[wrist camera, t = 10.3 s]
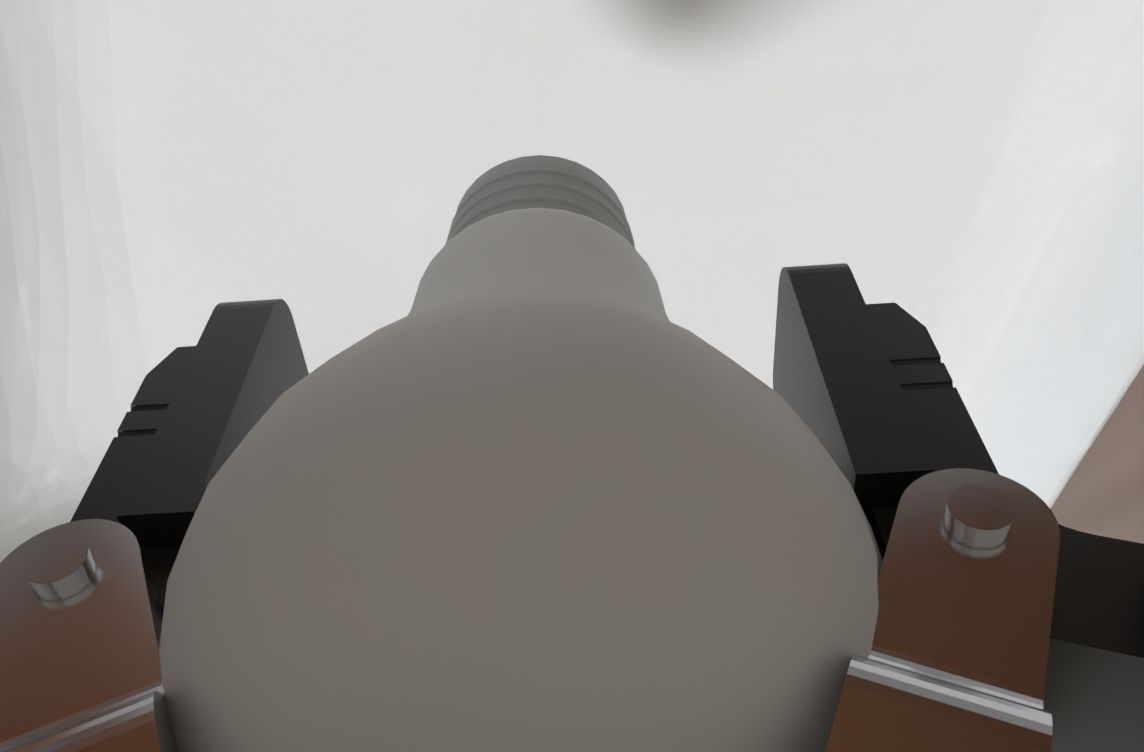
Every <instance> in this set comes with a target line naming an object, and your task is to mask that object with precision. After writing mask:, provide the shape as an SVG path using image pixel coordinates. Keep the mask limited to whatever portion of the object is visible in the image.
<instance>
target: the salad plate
mask: <svg viewBox="0 0 1144 752" xmlns="http://www.w3.org/2000/svg"><path fill="white" fill-rule="evenodd" d="M536 155H545V156H555V157H561V158H564V159H568V160H571V161H575V162H577V163H579V164H581V165H583V166H585V167H587V168H589V169H591V170H592V171H594V172H595V173H596V174H598V175H599V176H600V177H601V178H603V179H604V180H605V181H606V182H607V183H608V184H609V186H610V187H611V188H612V189H613V190H614V191H615V193H616V194H617V196H618V198H619V200H620V202H621V204H622V205H623V208H624V211H625V215H626V218H627V222H628V224H629V226H630V229H631V232H632V236H633V240H634V246H635V249H636V251H637V252H638V253H639V254H640V255H641V256H642V258H643V259H644V260H645V261H646V262H647V264H648V266H649V268H650V269H651V271H652V273H653V275H654V277H655V279H656V280H657V283H658V286H659V290H660V294H661V297H662V301H663V304H664V308H665V312H666V315H667V317H668V319H669V321H670V322H672V323H674V324H676V325H678V326H680V327H683V328H685V329H687V330H689V331H691V332H692V333H694V334H695V335H697V336H698V337H700V338H701V339H702V340H704V341H705V342H707V343H708V344H710V345H711V346H713V347H714V348H716V349H717V350H719V351H720V352H722V353H723V354H725V355H726V356H727V357H729V358H730V359H732V360H733V361H735V362H736V363H737V364H739V365H740V366H741V367H743V368H744V369H746V370H747V371H748V372H750V373H751V374H752V375H754V376H755V377H757V378H758V379H759V380H761V381H762V382H763V383H765V384H766V385H767V386H769V387H770V388H772V389H773V363H774V348H775V332H776V316H777V300H778V285H779V277H780V272H781V270H782V268H783V267H794V266H809V265H824V264H840V263H846V264H848V266H849V267H850V269H851V271H852V273H853V276H854V278H855V280H856V283H857V285H858V287H859V290H860V292H861V294H862V297H863V299H864V301H865V304H879V303H896V304H898V305H899V306H900V307H901V308H903V309H904V310H905V311H906V312H908V313H909V314H910V315H911V316H913V317H914V318H915V319H916V320H918V321H919V322H920V323H921V324H923V325H924V326H925V327H926V328H927V330H928V332H929V334H930V336H931V338H932V340H933V342H934V344H935V346H936V348H937V350H938V352H939V354H940V356H941V363H944V364H945V366H946V368H947V370H948V372H949V374H950V376H951V378H952V380H953V388H954V387H956V388H957V391H958V393H959V395H960V397H961V399H962V401H963V403H964V405H965V407H966V409H967V411H968V413H969V415H970V417H971V419H972V421H973V423H974V425H975V427H976V429H977V431H978V433H979V435H980V437H981V439H982V441H983V443H984V445H985V447H986V449H987V451H988V453H989V455H990V457H991V459H992V461H993V463H994V465H995V467H996V469H997V471H998V473H999V475H1002V476H1004V477H1007V478H1009V479H1012V480H1014V481H1016V482H1018V483H1020V484H1022V485H1023V486H1025V487H1027V488H1028V489H1029V490H1031V491H1032V492H1034V493H1035V494H1036V495H1037V496H1039V497H1040V498H1041V499H1042V500H1043V501H1044V502H1045V503H1046V504H1047V506H1048V507H1049V508H1050V509H1051V507H1052V506H1053V504H1054V502H1055V501H1056V499H1057V498H1058V496H1059V495H1060V493H1061V492H1062V490H1063V488H1064V487H1065V485H1066V484H1067V482H1068V481H1069V479H1070V478H1071V476H1072V474H1073V473H1074V471H1075V470H1076V468H1077V467H1078V465H1079V464H1080V462H1081V461H1082V459H1083V457H1084V456H1085V454H1086V453H1087V451H1088V450H1089V448H1090V447H1091V445H1092V444H1093V442H1094V441H1095V439H1096V438H1097V436H1098V434H1099V433H1100V431H1101V430H1102V428H1103V427H1104V425H1105V424H1106V422H1107V421H1108V419H1109V418H1110V416H1111V415H1112V413H1113V411H1114V410H1115V408H1116V407H1117V405H1118V404H1119V402H1120V400H1121V399H1122V397H1123V396H1124V394H1125V393H1126V391H1127V389H1128V388H1129V386H1130V385H1131V383H1132V382H1133V380H1134V378H1135V377H1136V375H1137V374H1138V372H1139V370H1140V369H1141V367H1142V366H1143V364H1144V0H0V563H1V561H2V560H3V559H4V558H5V557H6V556H8V555H9V554H10V553H11V552H12V551H13V550H14V549H16V548H17V547H18V546H20V545H21V544H22V543H24V542H25V541H27V540H29V539H30V538H32V537H33V536H35V535H37V534H39V533H41V532H43V531H45V530H48V529H50V528H53V527H55V526H58V525H61V524H65V523H68V522H70V521H71V519H72V517H73V515H74V513H75V511H76V509H77V508H78V506H79V504H80V502H81V500H82V498H83V496H84V494H85V492H86V490H87V488H88V486H89V484H90V482H91V480H92V479H93V477H94V475H95V473H96V471H97V469H98V467H99V465H100V463H101V461H102V459H103V457H104V455H105V453H106V452H107V450H108V448H109V446H110V444H111V442H112V440H113V438H114V437H118V432H117V430H118V428H119V426H120V425H121V423H122V421H123V419H124V417H125V415H126V413H127V412H131V407H130V405H131V403H132V401H133V399H134V398H135V396H136V394H137V392H138V390H139V388H140V386H141V384H142V382H143V380H144V378H145V376H146V375H147V374H148V373H149V372H150V371H151V370H152V369H153V368H155V367H156V366H157V365H158V364H159V363H160V362H161V361H162V360H164V359H165V358H166V357H167V356H168V355H169V354H170V353H171V352H172V351H174V350H175V349H176V348H177V347H187V346H196V345H197V343H198V341H199V339H200V337H201V335H202V333H203V331H204V329H205V326H206V324H207V322H208V320H209V318H210V316H211V314H212V312H213V310H214V308H215V306H216V305H217V304H219V303H224V302H240V301H255V300H270V299H283V300H284V301H285V302H286V303H287V305H288V306H289V309H290V311H291V314H292V317H293V320H294V323H295V327H296V330H297V334H298V337H299V341H300V344H301V348H302V351H303V355H304V359H305V362H306V366H307V369H308V373H309V374H310V373H311V372H313V371H314V370H315V369H317V368H318V367H319V366H321V365H322V364H324V363H325V362H326V361H328V360H329V359H330V358H332V357H334V356H335V355H337V354H339V353H340V352H342V351H344V350H345V349H347V348H348V347H350V346H352V345H353V344H355V343H357V342H358V341H360V340H361V339H363V338H365V337H366V336H368V335H370V334H371V333H373V332H375V331H376V330H378V329H380V328H382V327H384V326H386V325H389V324H391V323H393V322H395V321H397V320H400V319H402V318H404V317H406V316H408V314H409V312H410V310H411V308H412V305H413V302H414V299H415V296H416V292H417V289H418V286H419V283H420V280H421V278H422V276H423V274H424V272H425V271H426V269H427V267H428V265H429V263H430V261H431V260H432V259H433V258H434V257H435V256H436V255H437V253H438V252H439V251H440V250H441V249H442V248H443V247H444V246H445V244H446V242H447V238H448V234H449V231H450V227H451V223H452V220H453V218H454V216H455V214H456V211H457V208H458V205H459V203H460V201H461V199H462V197H463V196H464V194H465V192H466V191H467V189H468V188H469V187H470V186H471V185H472V184H473V183H474V181H475V180H476V179H477V178H479V177H480V176H481V175H483V174H484V173H485V172H486V171H488V170H489V169H491V168H493V167H495V166H497V165H499V164H501V163H503V162H505V161H508V160H512V159H516V158H519V157H524V156H536Z"/></svg>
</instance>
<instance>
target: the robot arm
mask: <svg viewBox="0 0 1144 752" xmlns="http://www.w3.org/2000/svg"><path fill="white" fill-rule="evenodd" d="M308 374H309V373H308V369H307V366H306V362H305V359H304V355H303V351H302V348H301V344H300V341H299V337H298V334H297V330H296V327H295V323H294V320H293V317H292V314H291V311H290V309H289V306H288V305H287V303H286V302H285V301H284V300H283V299H270V300H255V301H240V302H224V303H219V304H217V305H216V306H215V308H214V310H213V312H212V314H211V316H210V318H209V320H208V322H207V324H206V326H205V329H204V331H203V333H202V335H201V337H200V339H199V341H198V343H197V345H196V346H187V347H177V348H176V349H175V350H174V351H172V352H171V353H170V354H169V355H168V356H167V357H166V358H165V359H164V360H162V361H161V362H160V363H159V364H158V365H157V366H156V367H155V368H153V369H152V370H151V371H150V372H149V373H148V374H147V375H146V376H145V378H144V380H143V382H142V384H141V386H140V388H139V390H138V392H137V394H136V396H135V398H134V399H133V401H132V403H131V405H130V407H131V412H127V413H126V415H125V417H124V419H123V421H122V423H121V425H120V426H119V428H118V430H117V432H118V437H114V438H113V440H112V442H111V444H110V446H109V448H108V450H107V452H106V453H105V455H104V457H103V459H102V461H101V463H100V465H99V467H98V469H97V471H96V473H95V475H94V477H93V479H92V480H91V482H90V484H89V486H88V488H87V490H86V492H85V494H84V496H83V498H82V500H81V502H80V504H79V506H78V508H77V509H76V511H75V513H74V515H73V517H72V519H71V521H70V522H68V523H65V524H61V525H58V526H55V527H53V528H50V529H48V530H45V531H43V532H41V533H39V534H37V535H35V536H33V537H32V538H30V539H29V540H27V541H25V542H24V543H22V544H21V545H20V546H18V547H17V548H16V549H14V550H13V551H12V552H11V553H10V554H9V555H8V556H6V557H5V558H4V559H3V560H2V561H1V563H0V752H179V749H178V745H177V741H176V737H175V734H174V730H173V726H172V722H171V718H170V715H169V711H168V707H167V702H166V697H165V692H164V690H163V684H162V675H161V665H160V656H159V645H160V637H161V629H162V621H163V612H164V604H165V596H166V588H167V580H168V578H169V575H170V573H171V570H172V567H173V565H174V562H175V560H176V557H177V555H178V552H179V550H180V547H181V544H182V542H183V539H184V537H185V534H186V532H187V529H188V527H189V525H190V523H191V521H192V518H193V516H194V514H195V512H196V510H197V508H198V506H199V503H200V501H201V499H202V497H203V495H204V493H205V490H206V488H207V486H208V484H209V482H210V481H211V480H212V478H213V477H214V476H215V475H216V473H217V472H218V471H219V469H220V468H221V467H222V466H223V464H224V463H225V462H226V461H227V459H228V458H229V457H230V455H231V454H232V453H233V452H234V450H235V449H236V448H237V447H238V445H239V444H240V443H241V441H242V440H243V439H244V438H245V436H246V435H247V434H248V433H249V432H250V430H251V429H252V428H253V427H254V426H255V425H256V423H257V422H258V421H259V420H260V419H261V418H262V416H263V415H264V414H265V413H266V412H267V411H268V409H269V408H270V407H271V406H272V405H273V404H274V402H275V401H276V400H277V399H278V398H279V397H280V395H281V394H282V393H284V392H285V391H286V390H288V389H289V388H291V387H292V386H293V385H295V384H296V383H297V382H299V381H300V380H302V379H303V378H304V377H306V376H307V375H308ZM773 390H774V391H776V392H777V393H778V394H780V395H781V396H782V397H783V398H784V399H785V401H786V402H787V403H788V404H789V405H790V406H791V407H792V409H793V410H794V411H795V412H796V413H797V414H798V416H799V417H800V418H801V419H802V420H803V421H804V423H805V424H806V425H807V426H808V427H809V428H810V429H811V431H812V432H813V433H814V434H815V435H816V437H817V438H818V439H819V441H820V442H821V444H822V445H823V446H824V448H825V449H826V451H827V452H828V453H829V455H830V456H831V458H832V459H833V460H834V462H835V463H836V464H837V466H838V467H839V469H840V470H841V471H842V473H843V474H844V476H845V477H846V478H847V480H848V481H849V483H850V484H851V486H852V488H853V490H854V493H855V495H856V497H857V499H858V501H859V503H860V505H861V507H862V509H863V511H864V513H865V515H866V518H867V520H868V522H869V524H870V526H871V528H872V530H873V533H874V536H875V539H876V542H877V545H878V548H879V551H880V554H881V556H882V559H883V563H882V567H881V570H880V574H879V578H878V581H877V585H878V606H879V610H878V616H877V621H876V627H875V633H874V638H873V644H872V648H871V652H870V655H869V656H868V658H866V657H863V656H859V655H856V654H854V655H853V657H852V659H851V662H850V665H849V668H848V671H847V674H846V678H845V681H844V685H843V688H842V692H841V696H840V699H839V703H838V706H837V710H836V714H835V717H834V721H833V724H832V728H831V732H830V735H829V739H828V742H827V746H826V749H825V752H1144V544H1141V543H1136V542H1130V541H1125V540H1119V539H1114V538H1108V537H1103V536H1097V535H1092V534H1088V533H1084V532H1079V531H1076V530H1073V529H1070V528H1067V527H1064V526H1062V525H1059V524H1058V523H1057V520H1056V518H1055V516H1054V514H1053V512H1052V511H1051V509H1050V508H1049V507H1048V506H1047V504H1046V503H1045V502H1044V501H1043V500H1042V499H1041V498H1040V497H1039V496H1037V495H1036V494H1035V493H1034V492H1032V491H1031V490H1029V489H1028V488H1027V487H1025V486H1023V485H1022V484H1020V483H1018V482H1016V481H1014V480H1012V479H1009V478H1007V477H1004V476H1002V475H999V473H998V471H997V469H996V467H995V465H994V463H993V461H992V459H991V457H990V455H989V453H988V451H987V449H986V447H985V445H984V443H983V441H982V439H981V437H980V435H979V433H978V431H977V429H976V427H975V425H974V423H973V421H972V419H971V417H970V415H969V413H968V411H967V409H966V407H965V405H964V403H963V401H962V399H961V397H960V395H959V393H958V391H957V388H956V387H954V388H953V380H952V378H951V376H950V374H949V372H948V370H947V368H946V366H945V364H944V363H941V356H940V354H939V352H938V350H937V348H936V346H935V344H934V342H933V340H932V338H931V336H930V334H929V332H928V330H927V328H926V327H925V326H924V325H923V324H921V323H920V322H919V321H918V320H916V319H915V318H914V317H913V316H911V315H910V314H909V313H908V312H906V311H905V310H904V309H903V308H901V307H900V306H899V305H898V304H896V303H879V304H865V301H864V299H863V297H862V294H861V292H860V290H859V287H858V285H857V283H856V280H855V278H854V276H853V273H852V271H851V269H850V267H849V266H848V264H846V263H840V264H824V265H809V266H794V267H783V268H782V270H781V272H780V277H779V285H778V300H777V316H776V332H775V348H774V363H773Z"/></svg>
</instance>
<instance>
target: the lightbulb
mask: <svg viewBox="0 0 1144 752" xmlns="http://www.w3.org/2000/svg"><path fill="white" fill-rule="evenodd" d="M882 563H883V559H882V556H881V554H880V551H879V548H878V545H877V542H876V539H875V536H874V533H873V530H872V528H871V526H870V524H869V522H868V520H867V518H866V515H865V513H864V511H863V509H862V507H861V505H860V503H859V501H858V499H857V497H856V495H855V493H854V490H853V488H852V486H851V484H850V483H849V481H848V480H847V478H846V477H845V476H844V474H843V473H842V471H841V470H840V469H839V467H838V466H837V464H836V463H835V462H834V460H833V459H832V458H831V456H830V455H829V453H828V452H827V451H826V449H825V448H824V446H823V445H822V444H821V442H820V441H819V439H818V438H817V437H816V435H815V434H814V433H813V432H812V431H811V429H810V428H809V427H808V426H807V425H806V424H805V423H804V421H803V420H802V419H801V418H800V417H799V416H798V414H797V413H796V412H795V411H794V410H793V409H792V407H791V406H790V405H789V404H788V403H787V402H786V401H785V399H784V398H783V397H782V396H781V395H780V394H778V393H777V392H776V391H774V390H773V389H772V388H770V387H769V386H767V385H766V384H765V383H763V382H762V381H761V380H759V379H758V378H757V377H755V376H754V375H752V374H751V373H750V372H748V371H747V370H746V369H744V368H743V367H741V366H740V365H739V364H737V363H736V362H735V361H733V360H732V359H730V358H729V357H727V356H726V355H725V354H723V353H722V352H720V351H719V350H717V349H716V348H714V347H713V346H711V345H710V344H708V343H707V342H705V341H704V340H702V339H701V338H700V337H698V336H697V335H695V334H694V333H692V332H691V331H689V330H687V329H685V328H683V327H680V326H678V325H676V324H674V323H672V322H670V321H669V319H668V317H667V315H666V312H665V308H664V304H663V301H662V297H661V294H660V290H659V286H658V283H657V280H656V279H655V277H654V275H653V273H652V271H651V269H650V268H649V266H648V264H647V262H646V261H645V260H644V259H643V258H642V256H641V255H640V254H639V253H638V252H637V251H636V249H635V246H634V240H633V236H632V232H631V229H630V226H629V224H628V222H627V218H626V215H625V211H624V208H623V205H622V204H621V202H620V200H619V198H618V196H617V194H616V193H615V191H614V190H613V189H612V188H611V187H610V186H609V184H608V183H607V182H606V181H605V180H604V179H603V178H601V177H600V176H599V175H598V174H596V173H595V172H594V171H592V170H591V169H589V168H587V167H585V166H583V165H581V164H579V163H577V162H575V161H571V160H568V159H564V158H561V157H555V156H545V155H536V156H524V157H519V158H516V159H512V160H508V161H505V162H503V163H501V164H499V165H497V166H495V167H493V168H491V169H489V170H488V171H486V172H485V173H484V174H483V175H481V176H480V177H479V178H477V179H476V180H475V181H474V183H473V184H472V185H471V186H470V187H469V188H468V189H467V191H466V192H465V194H464V196H463V197H462V199H461V201H460V203H459V205H458V208H457V211H456V214H455V216H454V218H453V220H452V223H451V227H450V231H449V234H448V238H447V242H446V244H445V246H444V247H443V248H442V249H441V250H440V251H439V252H438V253H437V255H436V256H435V257H434V258H433V259H432V260H431V261H430V263H429V265H428V267H427V269H426V271H425V272H424V274H423V276H422V278H421V280H420V283H419V286H418V289H417V292H416V296H415V299H414V302H413V305H412V308H411V310H410V312H409V314H408V316H406V317H404V318H402V319H400V320H397V321H395V322H393V323H391V324H389V325H386V326H384V327H382V328H380V329H378V330H376V331H375V332H373V333H371V334H370V335H368V336H366V337H365V338H363V339H361V340H360V341H358V342H357V343H355V344H353V345H352V346H350V347H348V348H347V349H345V350H344V351H342V352H340V353H339V354H337V355H335V356H334V357H332V358H330V359H329V360H328V361H326V362H325V363H324V364H322V365H321V366H319V367H318V368H317V369H315V370H314V371H313V372H311V373H310V374H308V375H307V376H306V377H304V378H303V379H302V380H300V381H299V382H297V383H296V384H295V385H293V386H292V387H291V388H289V389H288V390H286V391H285V392H284V393H282V394H281V395H280V397H279V398H278V399H277V400H276V401H275V402H274V404H273V405H272V406H271V407H270V408H269V409H268V411H267V412H266V413H265V414H264V415H263V416H262V418H261V419H260V420H259V421H258V422H257V423H256V425H255V426H254V427H253V428H252V429H251V430H250V432H249V433H248V434H247V435H246V436H245V438H244V439H243V440H242V441H241V443H240V444H239V445H238V447H237V448H236V449H235V450H234V452H233V453H232V454H231V455H230V457H229V458H228V459H227V461H226V462H225V463H224V464H223V466H222V467H221V468H220V469H219V471H218V472H217V473H216V475H215V476H214V477H213V478H212V480H211V481H210V482H209V484H208V486H207V488H206V490H205V493H204V495H203V497H202V499H201V501H200V503H199V506H198V508H197V510H196V512H195V514H194V516H193V518H192V521H191V523H190V525H189V527H188V529H187V532H186V534H185V537H184V539H183V542H182V544H181V547H180V550H179V552H178V555H177V557H176V560H175V562H174V565H173V567H172V570H171V573H170V575H169V578H168V580H167V588H166V596H165V604H164V612H163V621H162V629H161V637H160V645H159V656H160V665H161V675H162V684H163V690H164V692H165V697H166V702H167V707H168V711H169V715H170V718H171V722H172V726H173V730H174V734H175V737H176V741H177V745H178V749H179V752H825V749H826V746H827V742H828V739H829V735H830V732H831V728H832V724H833V721H834V717H835V714H836V710H837V706H838V703H839V699H840V696H841V692H842V688H843V685H844V681H845V678H846V674H847V671H848V668H849V665H850V662H851V659H852V657H853V655H854V654H856V655H859V656H863V657H866V658H868V656H869V655H870V652H871V648H872V644H873V638H874V633H875V627H876V621H877V616H878V610H879V606H878V585H877V581H878V578H879V574H880V570H881V567H882Z"/></svg>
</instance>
